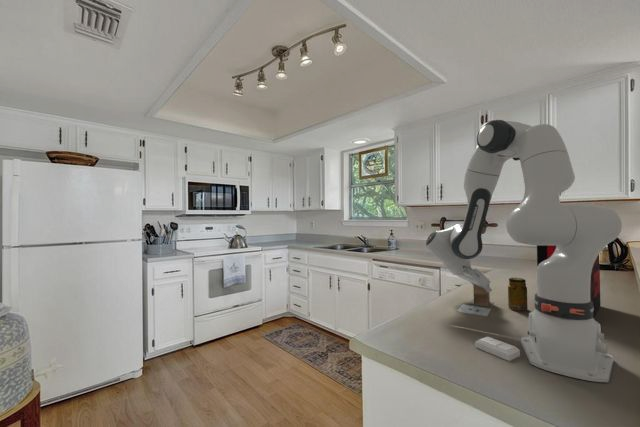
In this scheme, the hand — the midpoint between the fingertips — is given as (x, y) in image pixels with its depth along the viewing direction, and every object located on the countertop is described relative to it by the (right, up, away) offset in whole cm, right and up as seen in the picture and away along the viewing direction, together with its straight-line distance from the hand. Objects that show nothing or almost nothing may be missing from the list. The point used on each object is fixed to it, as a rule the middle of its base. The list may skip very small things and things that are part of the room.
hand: (483, 288), depth 118 cm
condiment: (+9, -7, -9) cm, 14 cm away
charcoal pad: (-1, -7, 0) cm, 7 cm away
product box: (+28, -6, -8) cm, 30 cm away
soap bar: (-19, -7, -40) cm, 45 cm away
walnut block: (-1, -6, 0) cm, 6 cm away
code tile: (-8, -7, -8) cm, 13 cm away
